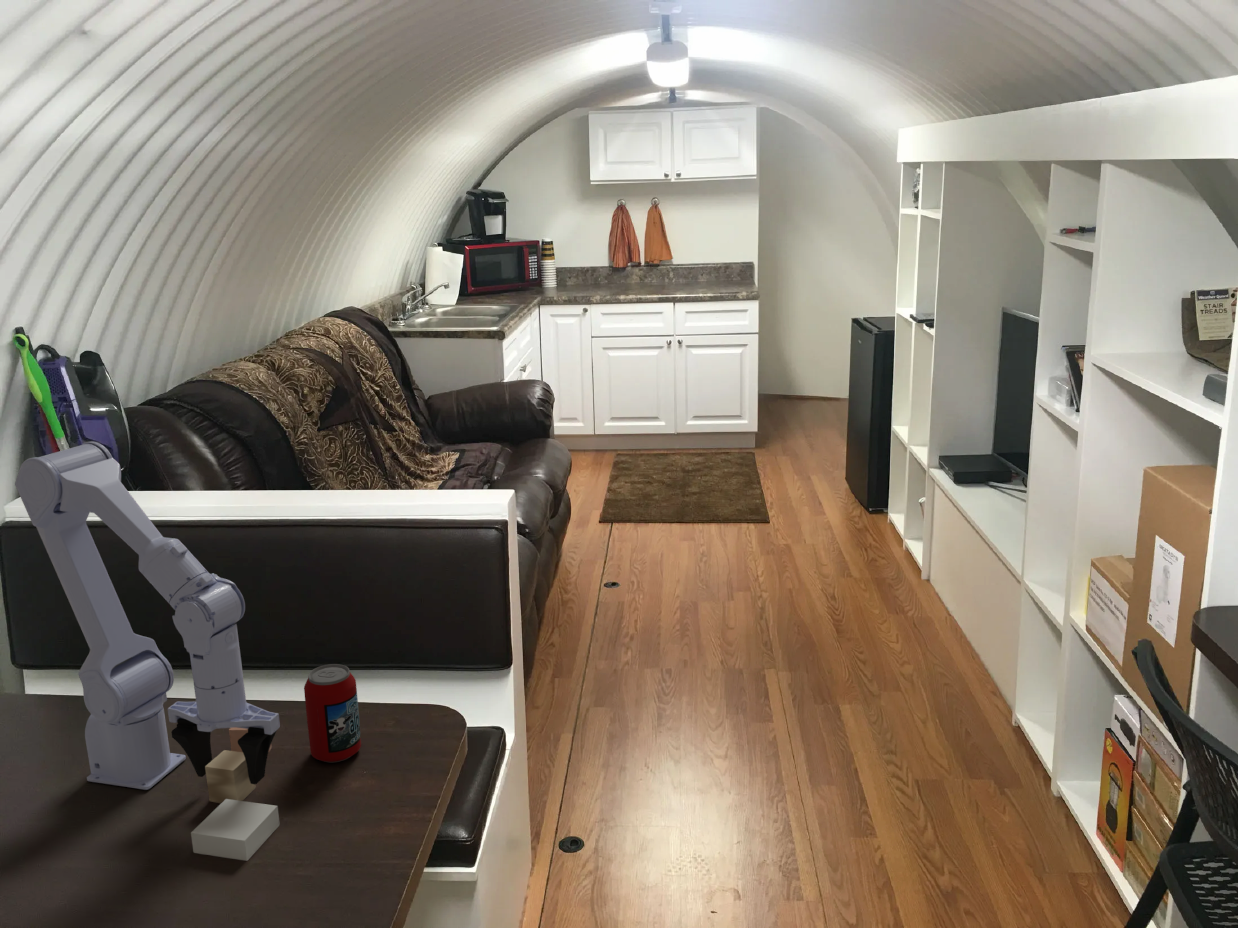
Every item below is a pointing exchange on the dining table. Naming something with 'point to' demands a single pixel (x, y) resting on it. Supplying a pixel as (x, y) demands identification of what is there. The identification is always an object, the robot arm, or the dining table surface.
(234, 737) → the terracotta block
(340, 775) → the dining table surface
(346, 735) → the beverage can
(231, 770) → the maple block
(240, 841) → the grey slab
